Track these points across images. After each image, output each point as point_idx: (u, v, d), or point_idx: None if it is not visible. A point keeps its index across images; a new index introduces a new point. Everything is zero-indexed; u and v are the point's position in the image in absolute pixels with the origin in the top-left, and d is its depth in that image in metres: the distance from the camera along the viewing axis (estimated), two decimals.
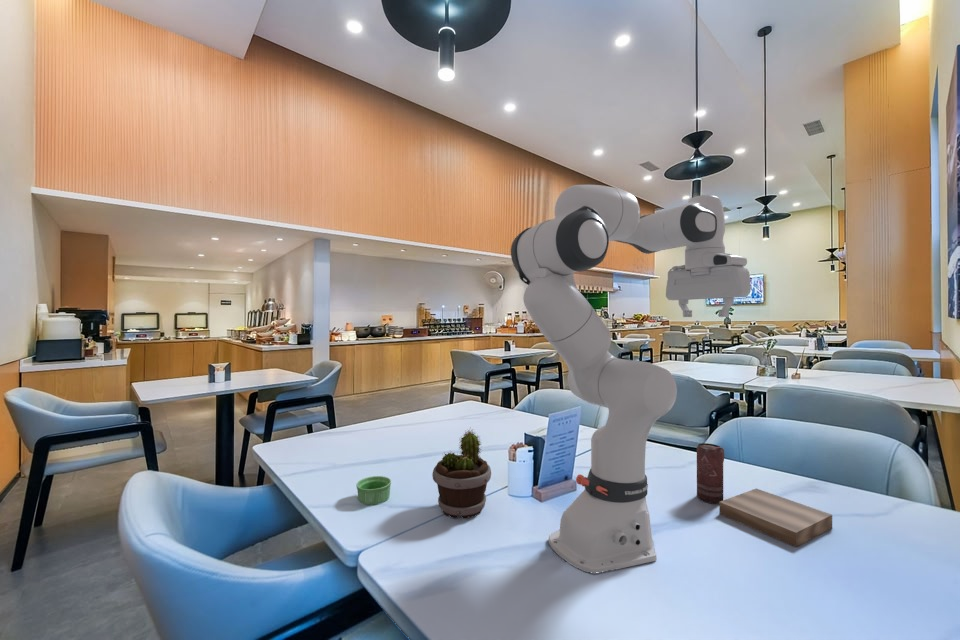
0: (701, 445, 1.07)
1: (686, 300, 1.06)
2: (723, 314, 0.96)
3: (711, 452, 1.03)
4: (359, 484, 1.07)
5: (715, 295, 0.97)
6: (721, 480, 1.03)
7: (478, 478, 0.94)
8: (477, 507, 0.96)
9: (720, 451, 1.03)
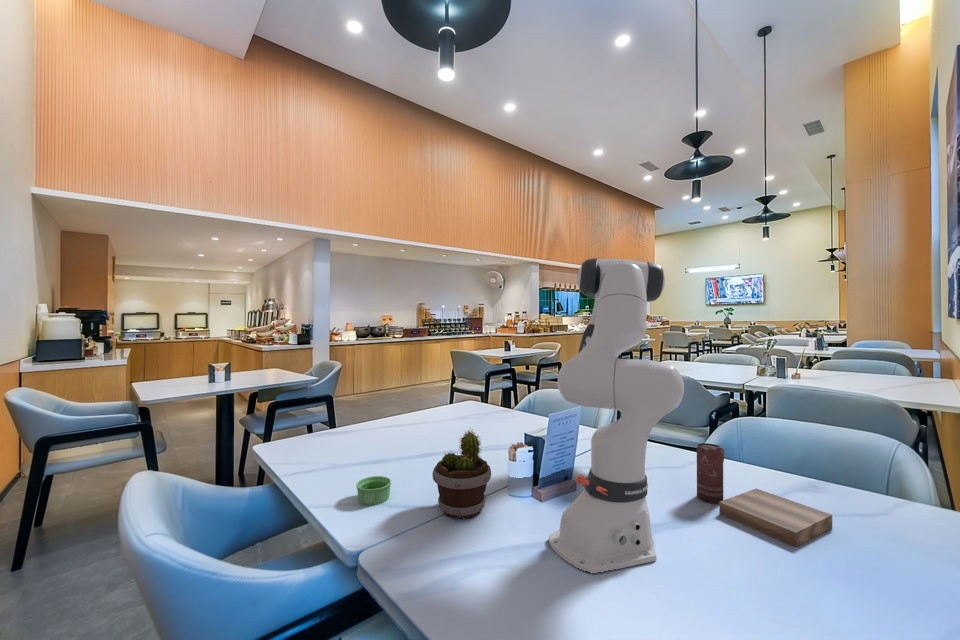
0: (701, 445, 1.07)
1: None
2: None
3: (711, 452, 1.03)
4: (359, 484, 1.07)
5: None
6: (721, 480, 1.03)
7: (478, 478, 0.94)
8: (477, 507, 0.96)
9: (720, 451, 1.03)
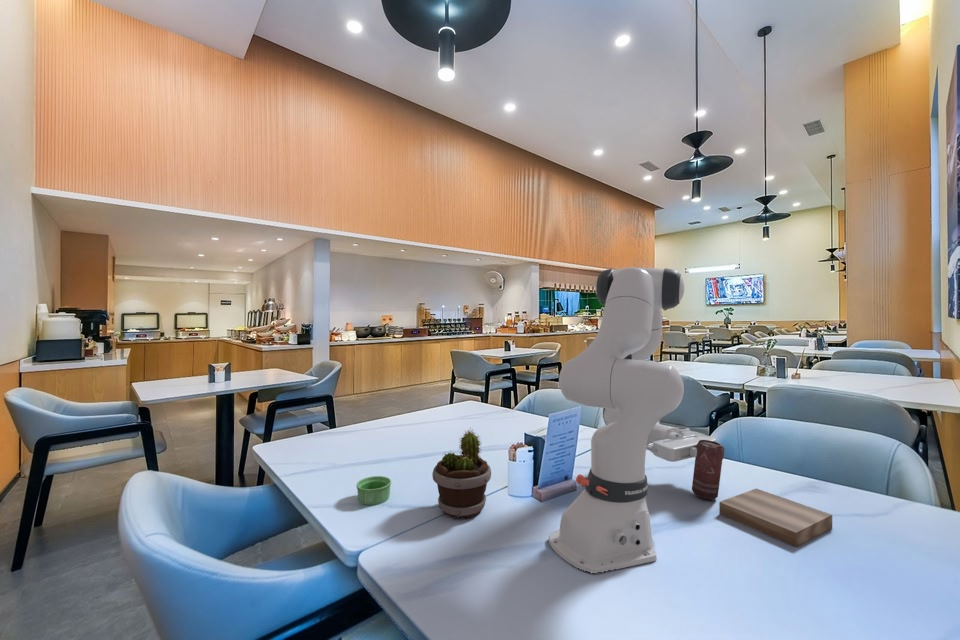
0: (702, 442, 1.07)
1: None
2: None
3: (711, 450, 1.03)
4: (359, 484, 1.07)
5: None
6: (718, 478, 1.03)
7: (478, 478, 0.94)
8: (477, 507, 0.96)
9: (720, 450, 1.03)
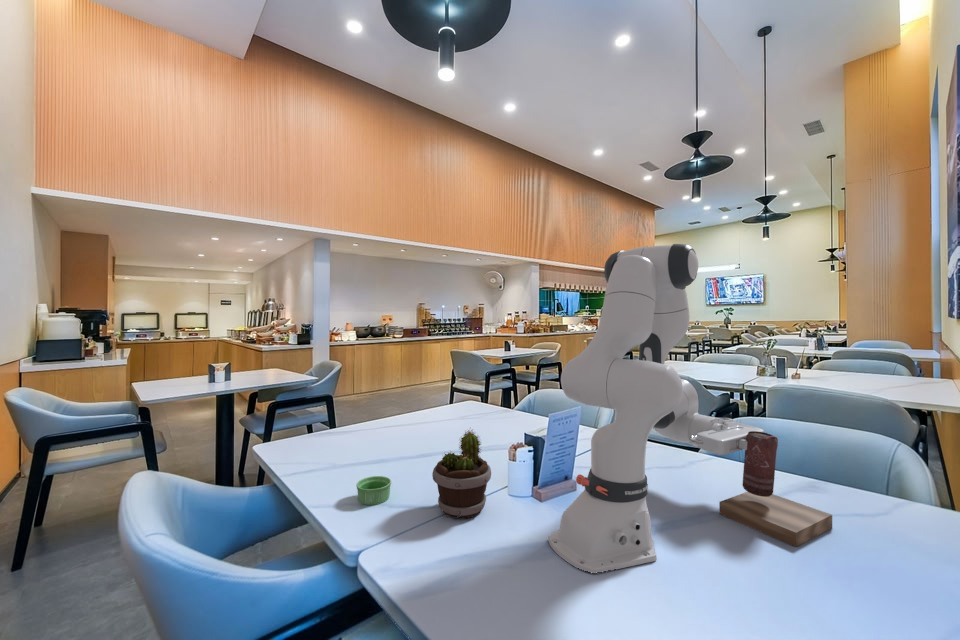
0: (751, 433, 0.98)
1: None
2: None
3: (765, 441, 0.94)
4: (359, 484, 1.07)
5: None
6: (773, 472, 0.94)
7: (478, 478, 0.94)
8: (477, 507, 0.96)
9: (774, 441, 0.94)
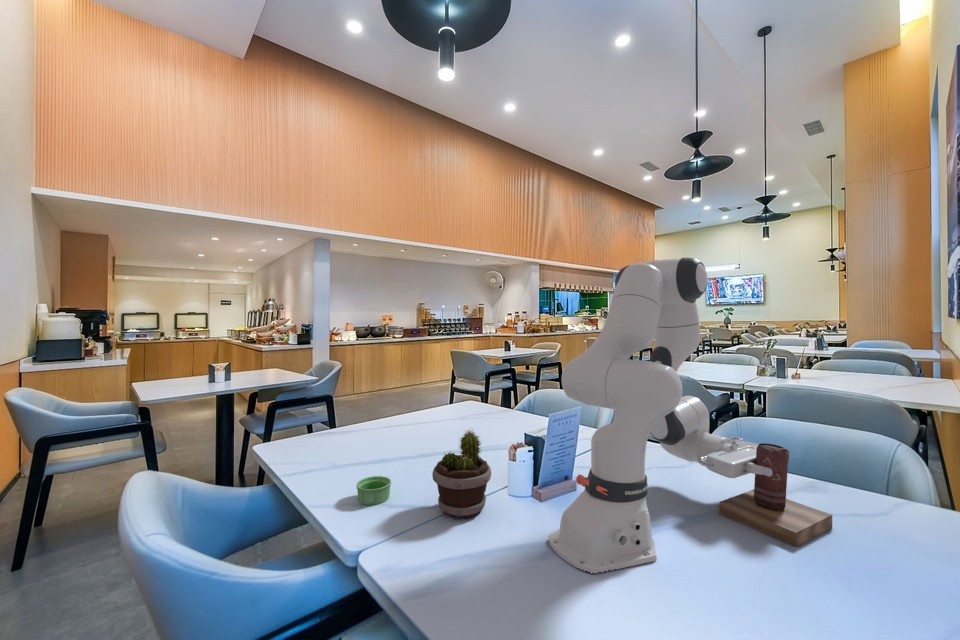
0: (762, 445, 0.97)
1: None
2: None
3: (776, 454, 0.92)
4: (359, 484, 1.07)
5: None
6: (785, 485, 0.93)
7: (478, 478, 0.94)
8: (477, 507, 0.96)
9: (785, 453, 0.92)
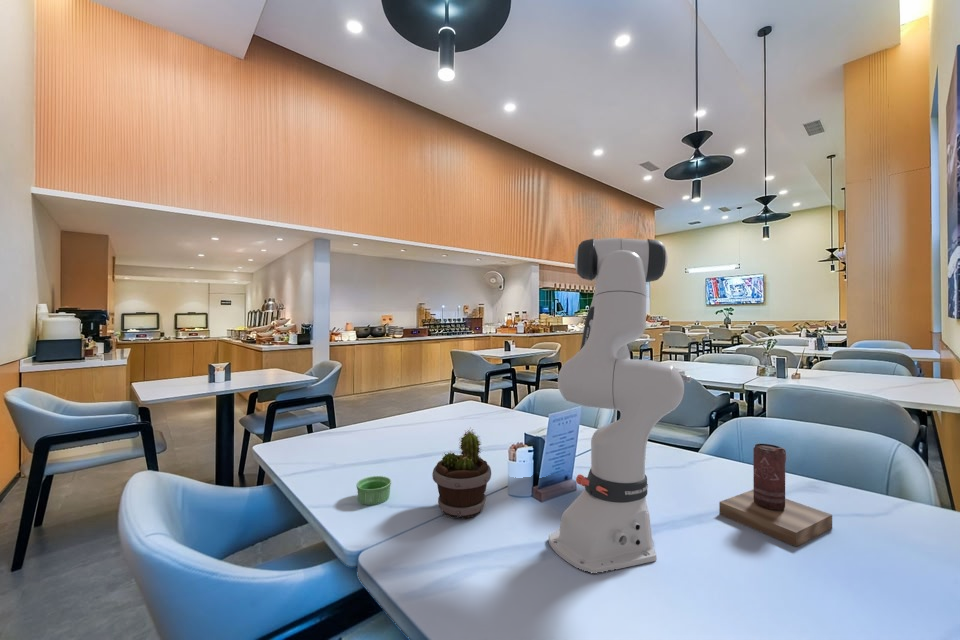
0: (758, 446, 0.97)
1: None
2: (688, 376, 1.16)
3: (772, 453, 0.93)
4: (359, 484, 1.07)
5: None
6: (783, 485, 0.93)
7: (478, 478, 0.94)
8: (477, 507, 0.96)
9: (782, 452, 0.93)
